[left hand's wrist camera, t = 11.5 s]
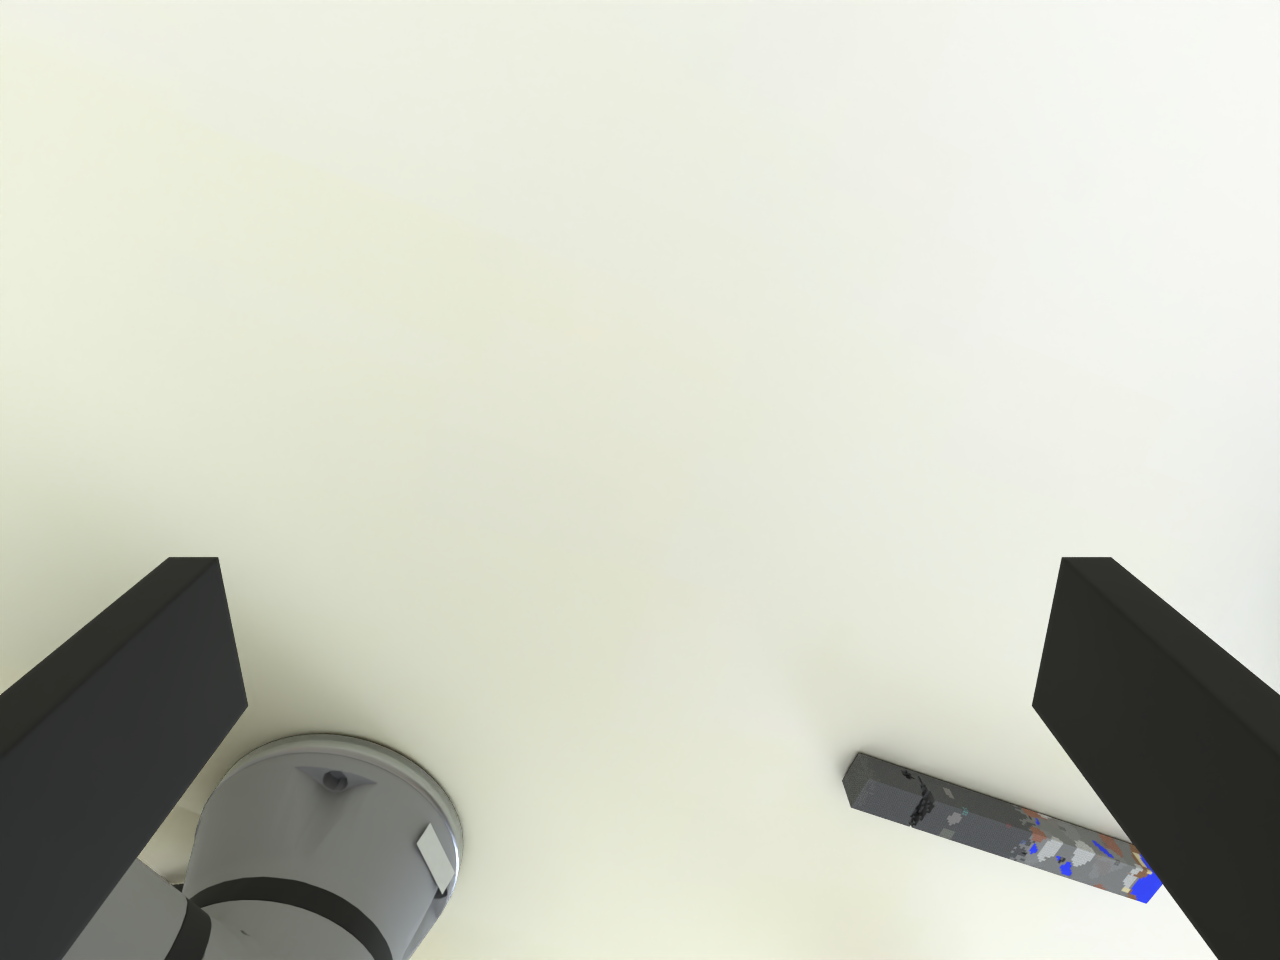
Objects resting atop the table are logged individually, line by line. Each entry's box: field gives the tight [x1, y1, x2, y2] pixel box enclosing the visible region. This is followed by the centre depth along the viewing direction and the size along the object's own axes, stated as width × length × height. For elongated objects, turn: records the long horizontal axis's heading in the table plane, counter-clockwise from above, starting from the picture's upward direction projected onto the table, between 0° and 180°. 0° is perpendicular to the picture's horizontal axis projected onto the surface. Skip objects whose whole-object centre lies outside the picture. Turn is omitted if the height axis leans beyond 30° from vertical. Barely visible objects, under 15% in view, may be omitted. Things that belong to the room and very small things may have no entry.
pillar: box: [842, 753, 1162, 903], centre depth 48 cm, size 2×2×20 cm
